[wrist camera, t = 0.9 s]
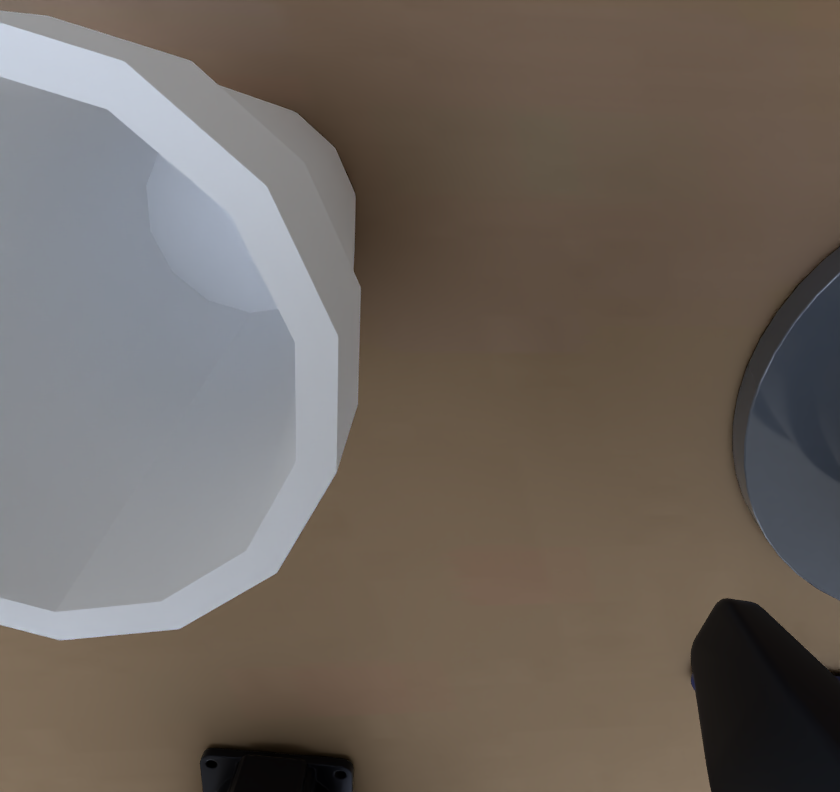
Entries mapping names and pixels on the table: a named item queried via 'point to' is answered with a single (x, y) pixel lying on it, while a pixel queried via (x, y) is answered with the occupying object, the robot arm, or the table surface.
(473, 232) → the table surface
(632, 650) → the table surface
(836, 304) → the plant pot
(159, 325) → the foam cup
